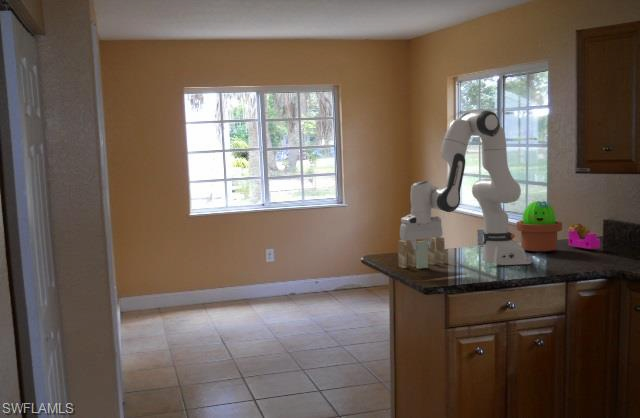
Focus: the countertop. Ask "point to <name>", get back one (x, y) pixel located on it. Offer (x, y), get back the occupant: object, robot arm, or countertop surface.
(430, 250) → the domino
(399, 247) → the domino far end
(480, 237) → the medicine box
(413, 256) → the domino
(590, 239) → the magenta tape dispenser
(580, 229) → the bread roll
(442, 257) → the domino
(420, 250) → the sage domino
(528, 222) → the potted cactus
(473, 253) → the countertop surface
